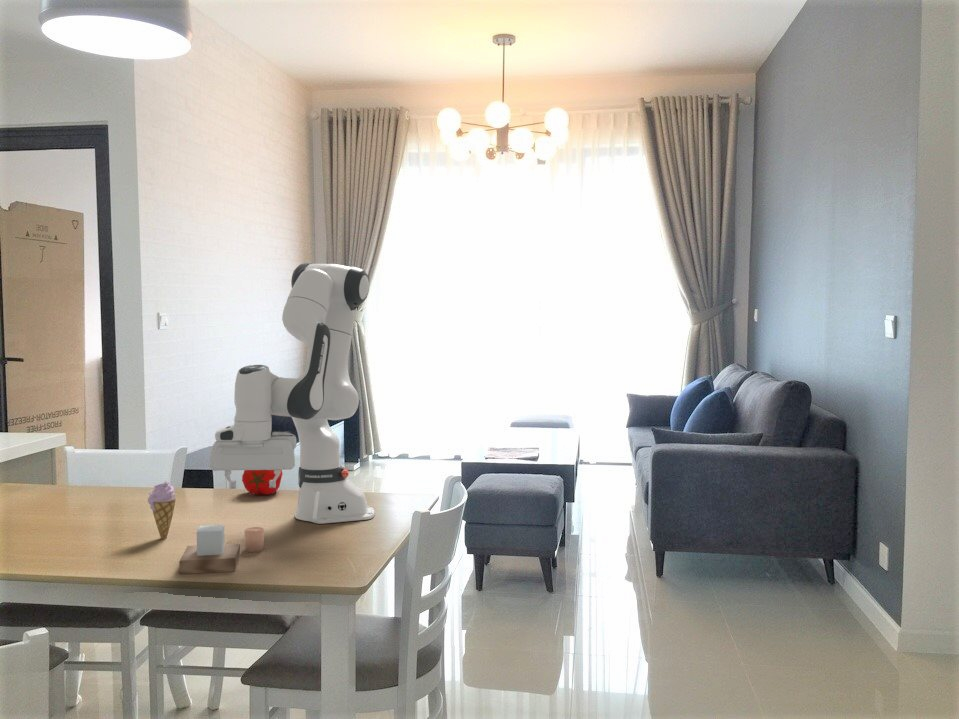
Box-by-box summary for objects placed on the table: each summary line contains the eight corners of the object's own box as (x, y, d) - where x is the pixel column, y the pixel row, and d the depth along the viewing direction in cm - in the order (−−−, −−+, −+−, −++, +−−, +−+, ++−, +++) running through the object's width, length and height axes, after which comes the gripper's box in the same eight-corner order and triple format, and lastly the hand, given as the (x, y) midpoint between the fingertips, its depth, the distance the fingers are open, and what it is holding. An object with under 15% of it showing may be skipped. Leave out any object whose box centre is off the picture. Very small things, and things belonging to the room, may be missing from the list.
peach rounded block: (264, 546, 214) (264, 526, 214) (263, 551, 209) (263, 531, 209) (245, 547, 213) (245, 527, 213) (244, 552, 209) (243, 532, 208)
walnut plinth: (240, 555, 206) (239, 543, 206) (235, 571, 194) (235, 558, 194) (187, 558, 204) (187, 545, 203) (179, 573, 192) (179, 560, 192)
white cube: (224, 547, 202) (224, 524, 201) (222, 554, 196) (221, 530, 196) (200, 548, 201) (199, 525, 200) (196, 555, 195) (196, 532, 195)
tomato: (263, 498, 280) (251, 509, 267) (241, 466, 279) (228, 475, 266) (295, 477, 279) (284, 487, 265) (273, 445, 278) (261, 453, 265)
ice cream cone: (159, 543, 216) (158, 484, 215) (143, 539, 219) (142, 481, 218) (181, 537, 222) (180, 479, 221) (165, 533, 225) (164, 477, 224)
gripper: (296, 429, 214) (296, 484, 215) (211, 430, 210) (211, 486, 211) (296, 433, 208) (295, 489, 209) (208, 433, 204) (208, 491, 205)
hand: (252, 488), depth 210 cm, fingers open, 8 cm apart
